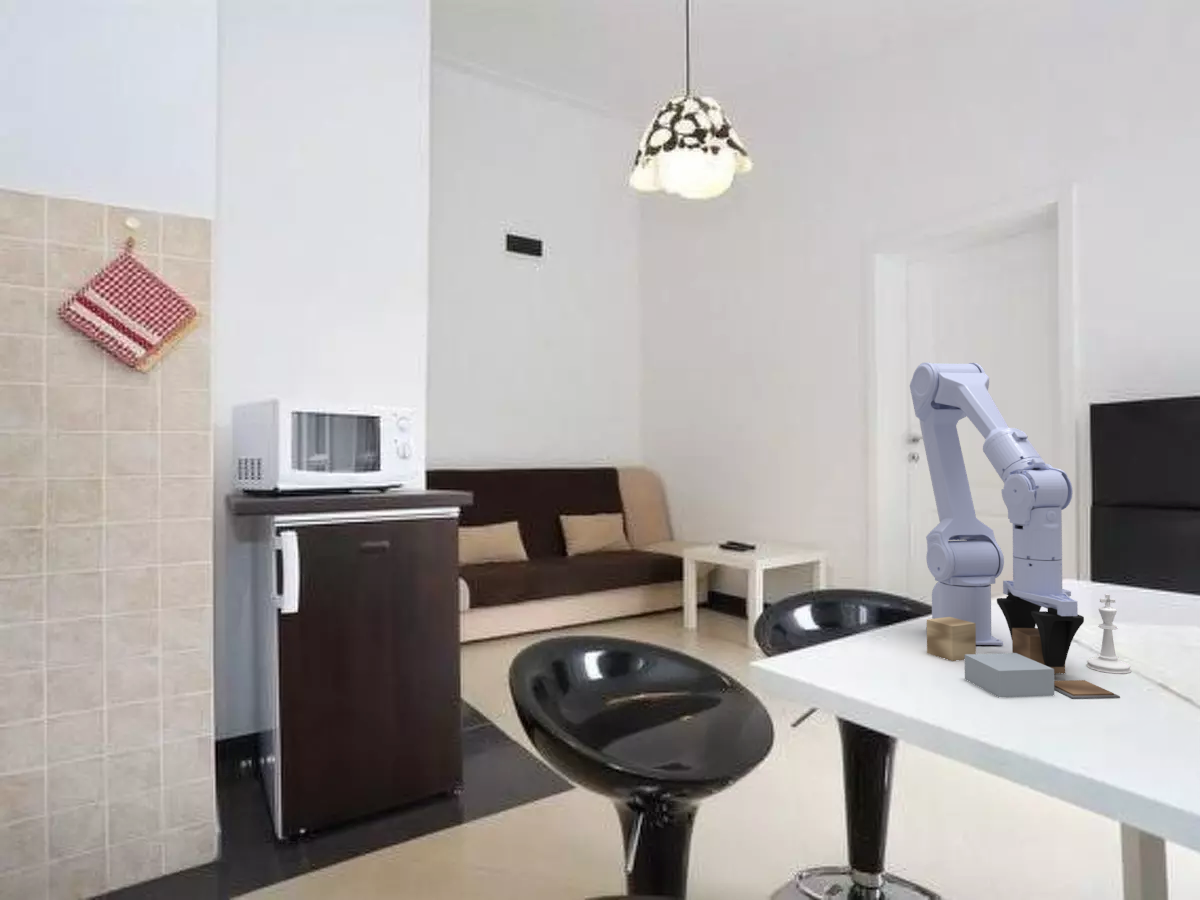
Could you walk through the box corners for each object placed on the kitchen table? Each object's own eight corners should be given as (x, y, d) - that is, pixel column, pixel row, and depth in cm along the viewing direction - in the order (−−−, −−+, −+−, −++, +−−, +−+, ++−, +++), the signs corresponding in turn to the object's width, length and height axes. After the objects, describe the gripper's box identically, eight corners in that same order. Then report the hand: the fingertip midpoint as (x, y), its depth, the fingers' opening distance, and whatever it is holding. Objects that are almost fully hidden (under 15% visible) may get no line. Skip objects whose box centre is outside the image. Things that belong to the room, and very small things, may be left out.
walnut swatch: (1040, 683, 91) (1040, 679, 91) (1085, 682, 91) (1085, 679, 91) (1072, 698, 85) (1072, 695, 85) (1119, 697, 85) (1119, 694, 85)
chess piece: (1138, 674, 94) (1137, 598, 94) (1096, 672, 95) (1095, 597, 95) (1119, 663, 98) (1118, 591, 99) (1079, 662, 99) (1078, 590, 100)
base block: (964, 681, 92) (964, 654, 92) (1016, 679, 93) (1015, 652, 93) (999, 700, 85) (998, 670, 85) (1054, 698, 86) (1054, 669, 86)
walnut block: (1012, 663, 99) (1012, 628, 99) (1046, 664, 99) (1045, 628, 99) (1030, 673, 95) (1029, 636, 95) (1065, 674, 94) (1064, 636, 94)
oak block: (927, 653, 105) (926, 619, 105) (949, 650, 106) (949, 616, 106) (952, 661, 100) (952, 626, 100) (975, 658, 102) (975, 623, 102)
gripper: (1102, 566, 89) (1103, 674, 89) (1037, 550, 104) (1038, 643, 104) (1044, 566, 90) (1045, 674, 90) (988, 550, 104) (989, 643, 104)
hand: (1038, 657), depth 97 cm, fingers open, 7 cm apart
